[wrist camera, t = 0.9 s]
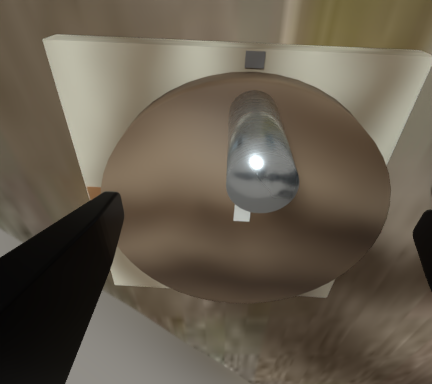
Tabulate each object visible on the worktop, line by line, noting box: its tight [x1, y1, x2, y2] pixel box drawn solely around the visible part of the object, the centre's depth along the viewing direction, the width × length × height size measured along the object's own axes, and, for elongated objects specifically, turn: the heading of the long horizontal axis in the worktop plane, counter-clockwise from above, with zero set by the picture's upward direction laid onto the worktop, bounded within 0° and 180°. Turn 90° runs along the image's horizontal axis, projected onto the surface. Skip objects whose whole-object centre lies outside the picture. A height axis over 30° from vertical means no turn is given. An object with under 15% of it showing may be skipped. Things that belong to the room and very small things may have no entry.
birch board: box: [42, 34, 432, 298], centre depth 22 cm, size 20×21×2 cm
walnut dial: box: [101, 72, 391, 303], centre depth 17 cm, size 18×18×8 cm
